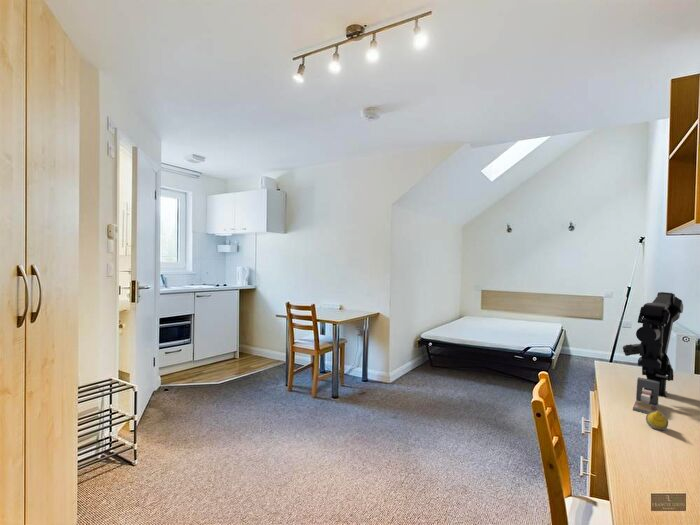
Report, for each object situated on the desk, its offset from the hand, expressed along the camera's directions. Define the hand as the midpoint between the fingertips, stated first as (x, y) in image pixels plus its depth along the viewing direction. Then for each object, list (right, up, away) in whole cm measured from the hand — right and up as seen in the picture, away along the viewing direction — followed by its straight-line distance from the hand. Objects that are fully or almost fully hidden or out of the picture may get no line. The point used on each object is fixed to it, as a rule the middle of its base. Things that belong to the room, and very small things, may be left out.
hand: (649, 381), depth 140 cm
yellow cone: (-16, -7, -24) cm, 29 cm away
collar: (-4, -6, -4) cm, 8 cm away
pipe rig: (-6, -7, -6) cm, 11 cm away
